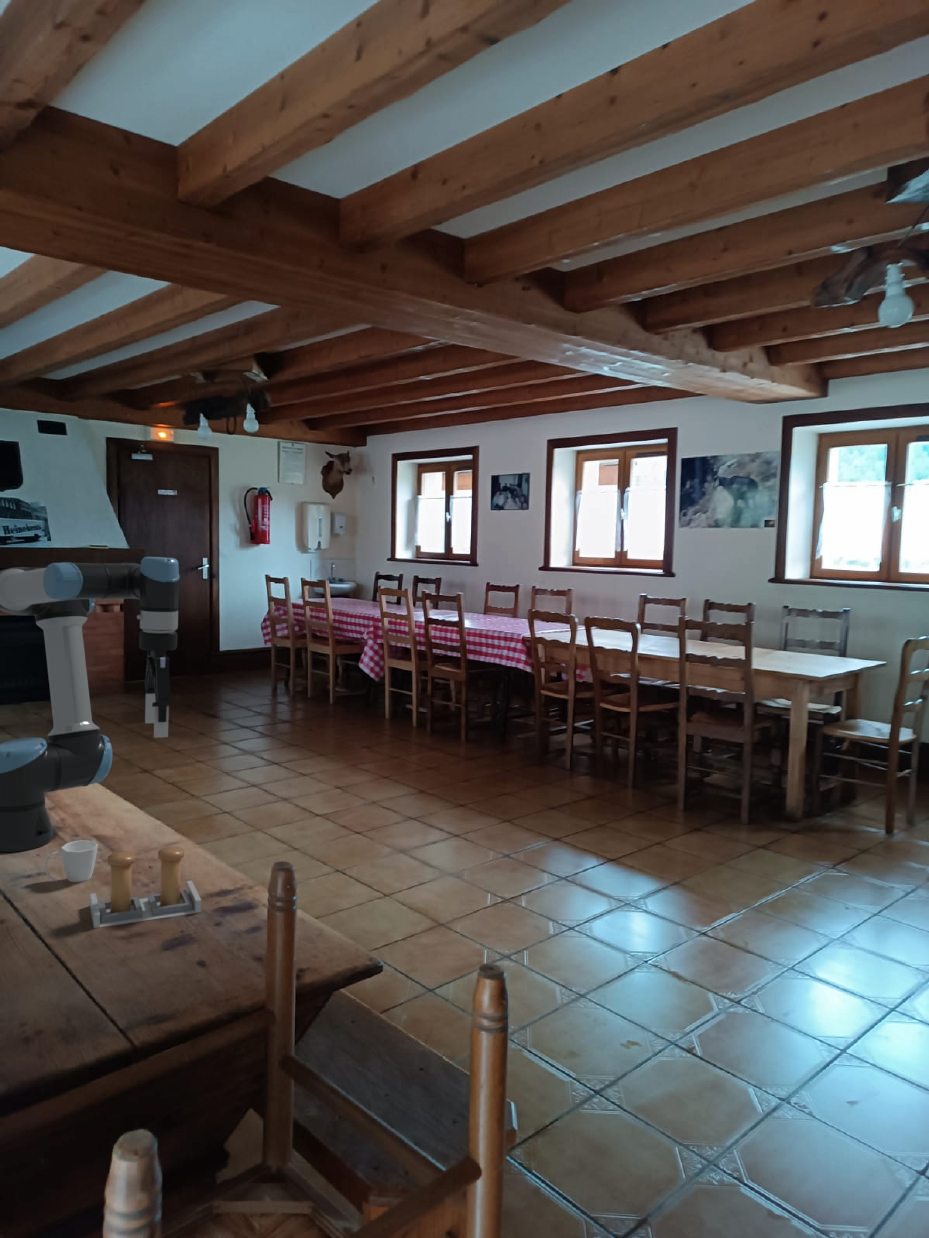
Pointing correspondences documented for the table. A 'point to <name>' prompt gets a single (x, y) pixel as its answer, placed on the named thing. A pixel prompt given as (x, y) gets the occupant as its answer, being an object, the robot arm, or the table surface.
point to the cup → (77, 860)
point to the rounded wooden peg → (120, 881)
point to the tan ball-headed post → (170, 875)
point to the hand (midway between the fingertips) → (156, 729)
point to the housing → (145, 908)
